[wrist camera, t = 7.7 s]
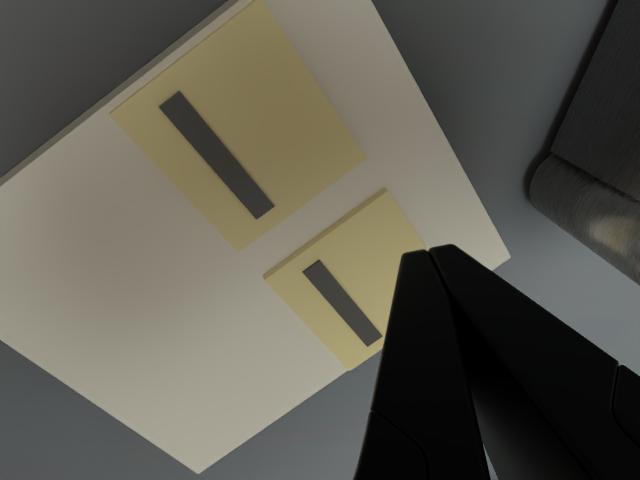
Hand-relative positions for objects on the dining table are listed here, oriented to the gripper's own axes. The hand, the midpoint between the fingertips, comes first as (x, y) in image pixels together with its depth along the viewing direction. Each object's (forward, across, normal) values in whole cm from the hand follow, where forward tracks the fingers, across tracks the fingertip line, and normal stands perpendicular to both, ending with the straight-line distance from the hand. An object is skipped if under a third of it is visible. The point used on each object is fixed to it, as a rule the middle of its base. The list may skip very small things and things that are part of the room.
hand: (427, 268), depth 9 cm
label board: (+9, +5, +5) cm, 11 cm away
